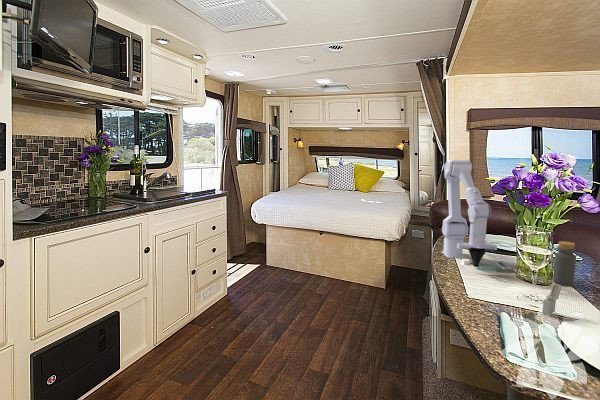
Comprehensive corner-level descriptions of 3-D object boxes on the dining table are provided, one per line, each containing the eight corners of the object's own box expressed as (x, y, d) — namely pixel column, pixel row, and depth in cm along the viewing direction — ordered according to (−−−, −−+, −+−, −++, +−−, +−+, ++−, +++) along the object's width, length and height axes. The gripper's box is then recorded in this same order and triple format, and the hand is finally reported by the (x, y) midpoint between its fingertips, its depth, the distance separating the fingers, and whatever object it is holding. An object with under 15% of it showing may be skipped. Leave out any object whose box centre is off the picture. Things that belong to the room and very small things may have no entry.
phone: (480, 270, 131) (480, 265, 131) (475, 266, 136) (475, 261, 136) (501, 270, 130) (502, 266, 130) (495, 266, 135) (496, 262, 135)
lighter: (548, 316, 95) (551, 289, 94) (541, 313, 96) (544, 287, 95) (559, 310, 98) (561, 284, 97) (552, 307, 100) (554, 282, 99)
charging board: (472, 275, 127) (472, 269, 127) (459, 263, 141) (460, 258, 141) (516, 276, 125) (517, 271, 125) (499, 264, 139) (499, 259, 139)
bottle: (577, 287, 115) (581, 245, 113) (558, 285, 116) (562, 244, 114) (567, 280, 121) (571, 241, 119) (549, 279, 122) (553, 240, 120)
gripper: (462, 235, 129) (460, 268, 130) (501, 236, 127) (499, 270, 128) (456, 231, 135) (454, 263, 137) (493, 232, 134) (491, 264, 135)
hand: (475, 266), depth 133 cm, fingers closed
